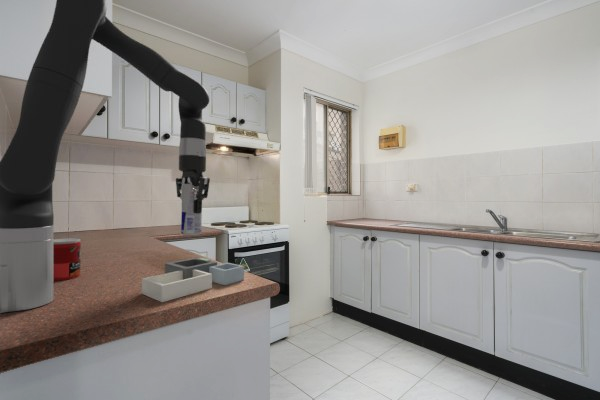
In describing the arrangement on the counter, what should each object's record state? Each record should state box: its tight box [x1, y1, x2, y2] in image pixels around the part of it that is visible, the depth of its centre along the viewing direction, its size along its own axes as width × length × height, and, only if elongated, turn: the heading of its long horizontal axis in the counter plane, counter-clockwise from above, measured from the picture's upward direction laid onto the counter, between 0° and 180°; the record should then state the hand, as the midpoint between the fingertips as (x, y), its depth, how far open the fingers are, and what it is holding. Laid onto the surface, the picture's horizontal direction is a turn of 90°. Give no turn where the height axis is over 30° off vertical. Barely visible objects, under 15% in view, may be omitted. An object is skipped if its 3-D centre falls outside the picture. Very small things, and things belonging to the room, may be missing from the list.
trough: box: [141, 269, 213, 303], centre depth 77 cm, size 14×10×4 cm
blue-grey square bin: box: [209, 262, 245, 286], centre depth 87 cm, size 7×7×4 cm
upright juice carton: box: [180, 184, 203, 236], centre depth 88 cm, size 6×6×15 cm
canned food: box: [53, 237, 82, 282], centre depth 88 cm, size 8×8×11 cm
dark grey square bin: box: [164, 257, 218, 280], centre depth 89 cm, size 10×10×5 cm
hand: (191, 212), depth 88 cm, fingers closed on upright juice carton, 5 cm apart
